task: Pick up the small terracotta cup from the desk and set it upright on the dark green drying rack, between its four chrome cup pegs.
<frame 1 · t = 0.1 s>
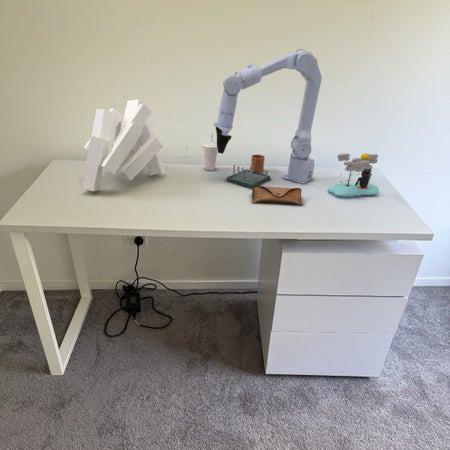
hand: (219, 150, 148), 11 cm above the table, tool pointing down, fingers open, 7 cm apart
pile of blocks: (126, 179, 149), on the table
rack: (248, 180, 152), on the table
penguin figurine: (353, 193, 146), on the table
sunglasses case: (277, 201, 137), on the table
cup: (256, 171, 162), on the table
smoothie: (210, 169, 162), on the table
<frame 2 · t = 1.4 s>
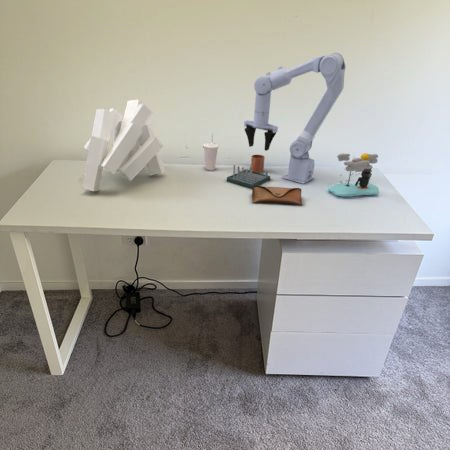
hand: (258, 148, 156), 9 cm above the table, tool pointing down, fingers open, 7 cm apart
nothing on the table moved.
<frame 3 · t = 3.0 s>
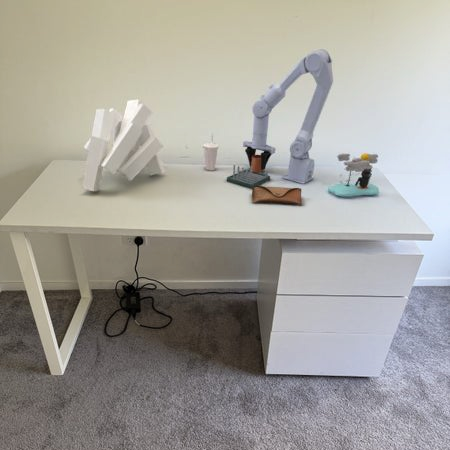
hand: (257, 167, 161), 1 cm above the table, tool pointing down, fingers closed on cup, 5 cm apart
cup: (256, 171, 162), on the table, touching gripper
everything else where it was.
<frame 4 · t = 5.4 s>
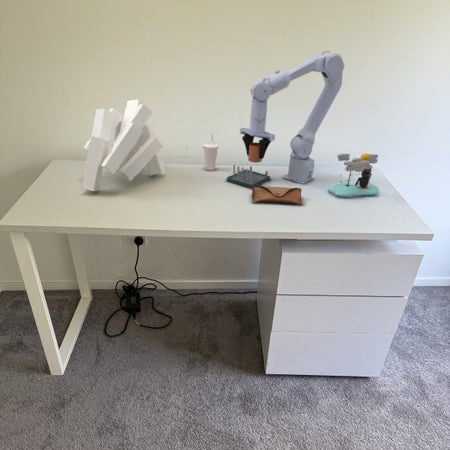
hand: (255, 156, 149), 9 cm above the table, tool pointing down, fingers closed on cup, 5 cm apart
cup: (254, 160, 150), point 7 cm above the table, touching gripper
everything else where it was.
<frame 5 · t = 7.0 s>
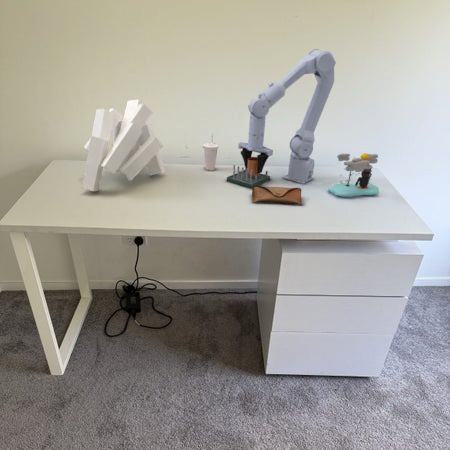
hand: (253, 170, 151), 4 cm above the table, tool pointing down, fingers closed on cup, 5 cm apart
cup: (253, 174, 151), point 2 cm above the table, touching gripper
everything else where it was.
when the fingers open (3 cm above the table, at t = 7.9 s): cup stays where it is, resting on rack.
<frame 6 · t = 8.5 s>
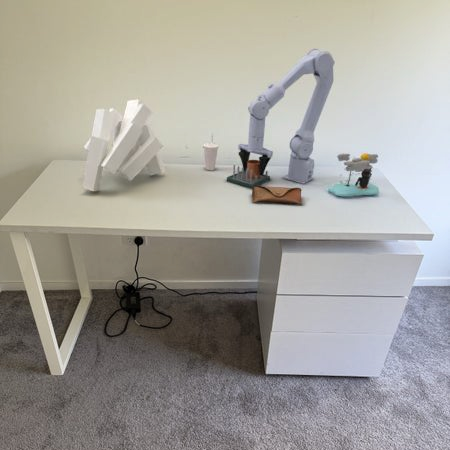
hand: (253, 172, 151), 3 cm above the table, tool pointing down, fingers open, 7 cm apart
cup: (253, 177, 152), point 1 cm above the table, touching rack
everything else where it was.
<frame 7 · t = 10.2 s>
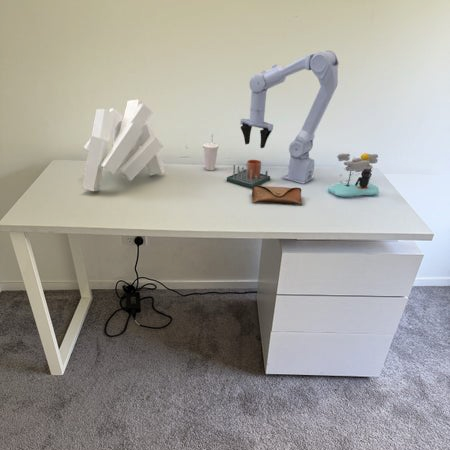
hand: (254, 145, 159), 9 cm above the table, tool pointing down, fingers open, 7 cm apart
nothing on the table moved.
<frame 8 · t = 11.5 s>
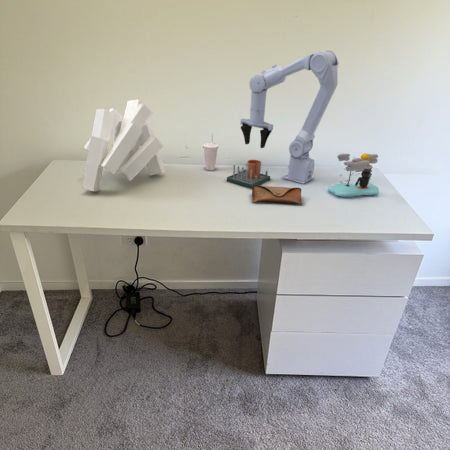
hand: (254, 145, 159), 9 cm above the table, tool pointing down, fingers open, 7 cm apart
nothing on the table moved.
at the end: cup 0.0 cm from the target spot on the rack, point 1.3 cm above the rack's base; cup tilted 0° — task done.
